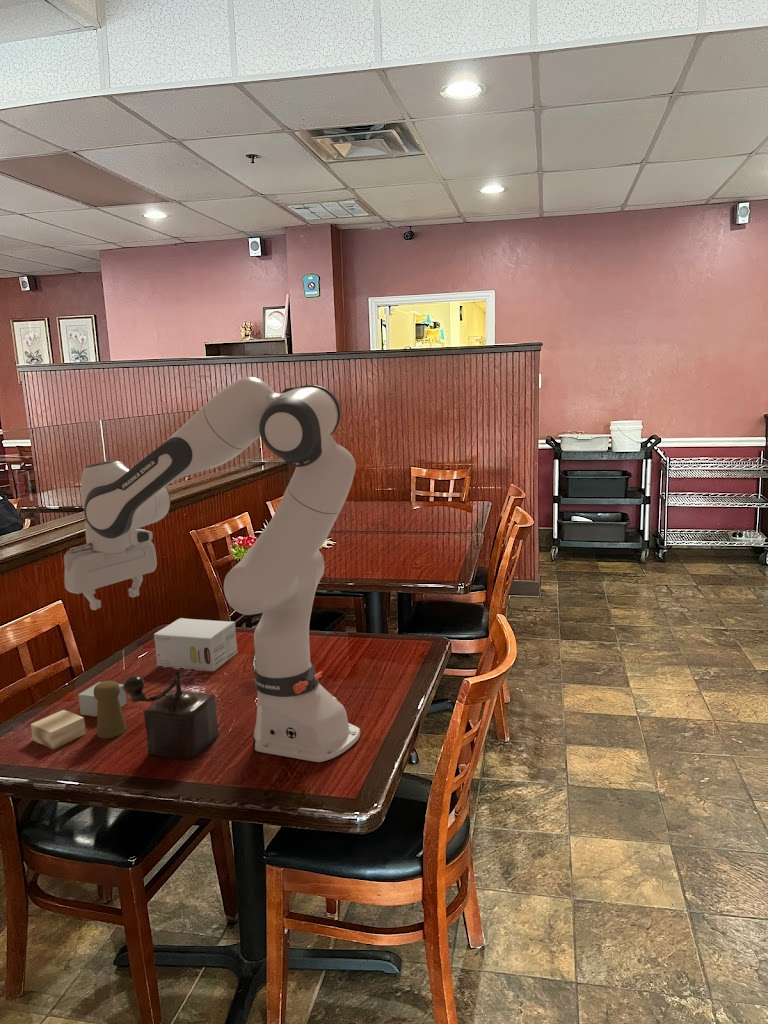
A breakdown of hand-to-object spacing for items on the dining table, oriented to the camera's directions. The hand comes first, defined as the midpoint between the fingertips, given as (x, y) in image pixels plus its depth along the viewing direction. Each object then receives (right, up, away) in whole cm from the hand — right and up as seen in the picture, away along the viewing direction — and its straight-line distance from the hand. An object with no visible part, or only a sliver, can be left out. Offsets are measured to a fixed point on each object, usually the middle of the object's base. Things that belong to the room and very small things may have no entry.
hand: (115, 602), depth 151 cm
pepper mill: (+15, -29, -8) cm, 34 cm away
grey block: (-7, -26, +13) cm, 30 cm away
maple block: (-12, -29, 0) cm, 31 cm away
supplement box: (+7, -21, +40) cm, 45 cm away
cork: (-1, -28, +2) cm, 28 cm away
